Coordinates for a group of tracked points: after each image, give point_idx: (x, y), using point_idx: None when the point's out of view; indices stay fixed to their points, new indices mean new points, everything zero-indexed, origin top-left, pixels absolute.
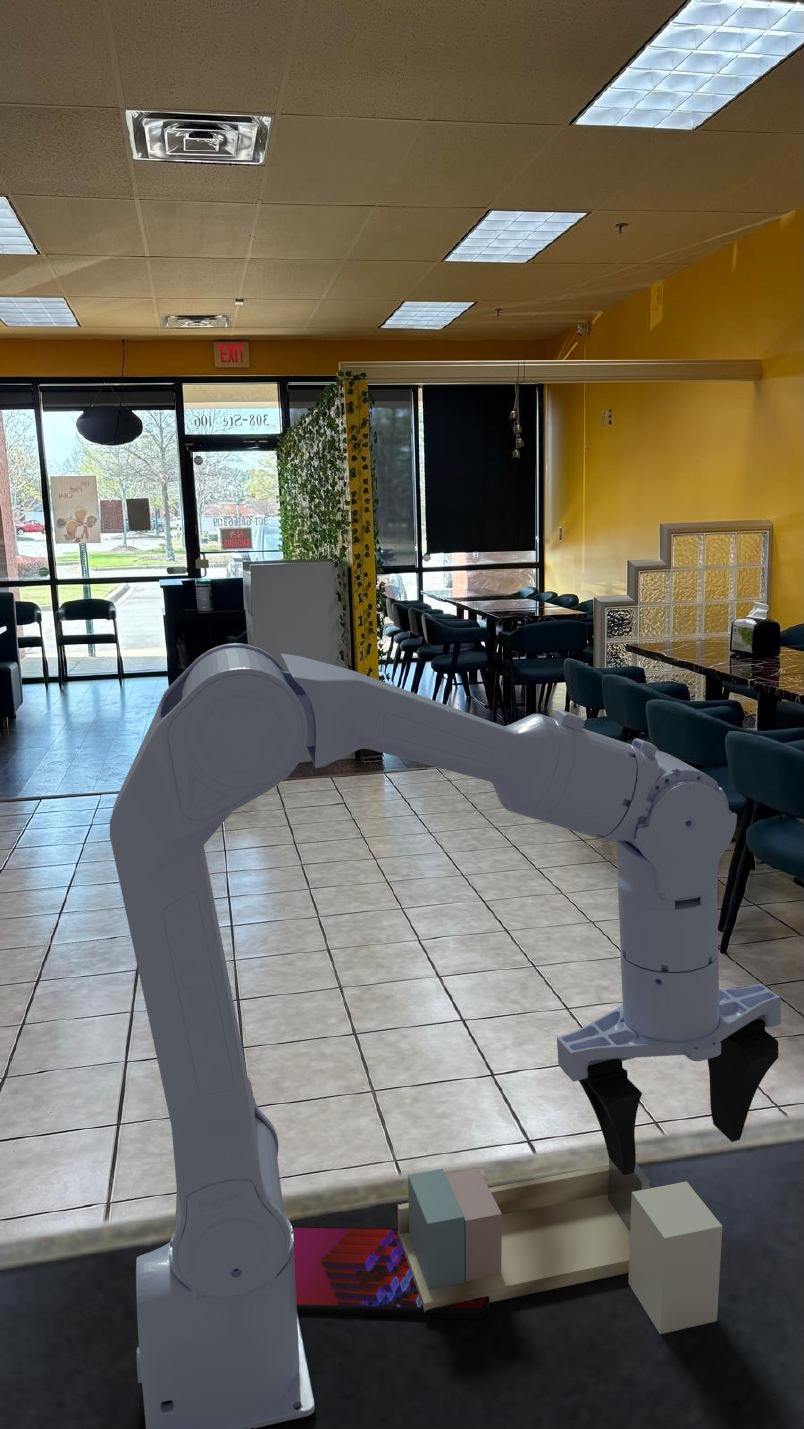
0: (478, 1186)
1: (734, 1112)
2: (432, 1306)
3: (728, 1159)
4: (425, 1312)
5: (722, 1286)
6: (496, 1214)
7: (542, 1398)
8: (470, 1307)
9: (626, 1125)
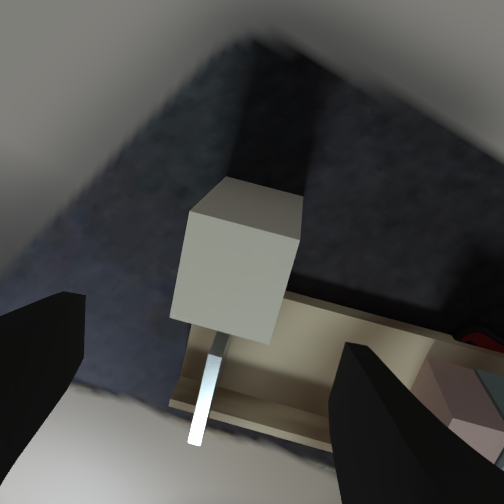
0: None
1: (38, 334)
2: None
3: None
4: None
5: (181, 213)
6: (461, 420)
7: (501, 194)
8: (487, 338)
9: (434, 439)
